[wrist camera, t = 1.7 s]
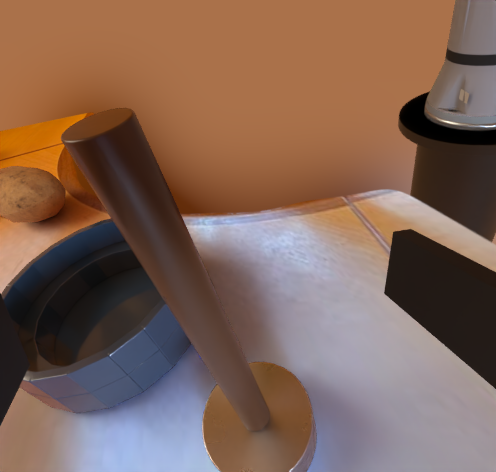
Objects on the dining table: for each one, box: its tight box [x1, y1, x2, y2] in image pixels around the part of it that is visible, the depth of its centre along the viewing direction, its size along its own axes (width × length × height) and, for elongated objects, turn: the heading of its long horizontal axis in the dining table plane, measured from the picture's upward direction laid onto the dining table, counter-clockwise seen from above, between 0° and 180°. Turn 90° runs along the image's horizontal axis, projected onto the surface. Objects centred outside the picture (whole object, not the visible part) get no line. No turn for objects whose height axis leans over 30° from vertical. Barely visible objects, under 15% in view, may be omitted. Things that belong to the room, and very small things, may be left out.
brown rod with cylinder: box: [61, 108, 317, 472], centre depth 15 cm, size 7×7×22 cm
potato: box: [0, 166, 65, 222], centre depth 49 cm, size 10×14×8 cm
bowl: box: [1, 219, 191, 413], centre depth 30 cm, size 17×17×6 cm
